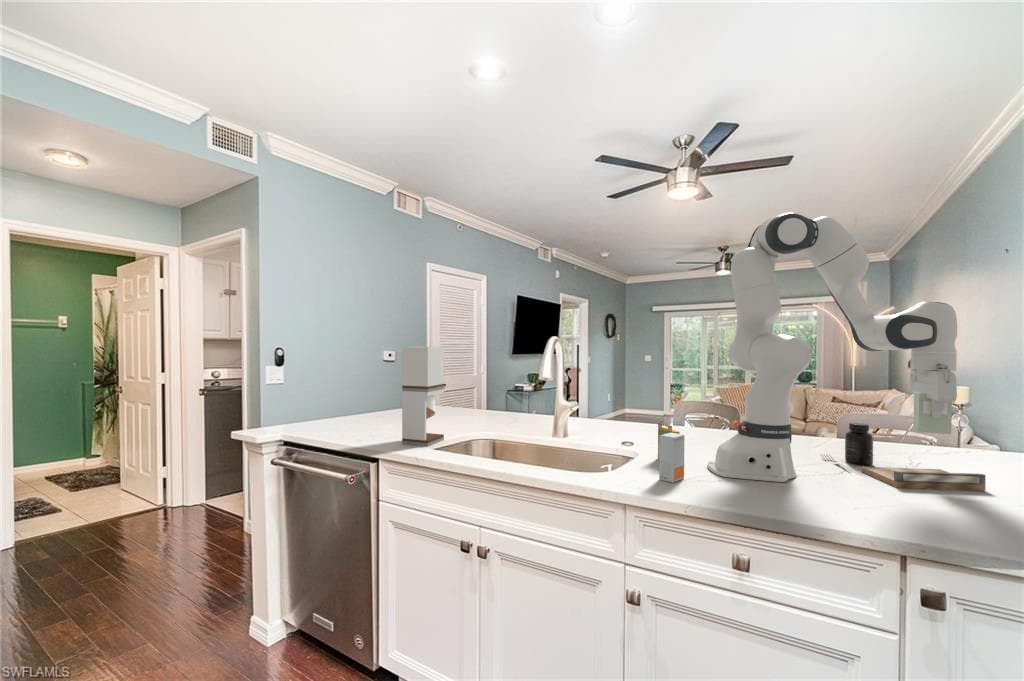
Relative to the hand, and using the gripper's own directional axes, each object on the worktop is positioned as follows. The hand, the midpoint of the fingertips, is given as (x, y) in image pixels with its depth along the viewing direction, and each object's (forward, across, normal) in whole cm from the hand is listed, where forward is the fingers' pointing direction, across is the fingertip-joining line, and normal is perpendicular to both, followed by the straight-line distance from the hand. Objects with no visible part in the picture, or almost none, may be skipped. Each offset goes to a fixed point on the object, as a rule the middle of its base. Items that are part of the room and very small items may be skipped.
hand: (931, 416), depth 120 cm
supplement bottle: (+18, +15, +12) cm, 26 cm away
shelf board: (+18, 0, +2) cm, 18 cm away
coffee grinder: (+22, -22, +149) cm, 152 cm away
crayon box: (+20, -9, +65) cm, 68 cm away
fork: (+18, +6, +18) cm, 26 cm away
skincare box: (+20, -28, +61) cm, 70 cm away
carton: (+4, 0, 0) cm, 4 cm away
